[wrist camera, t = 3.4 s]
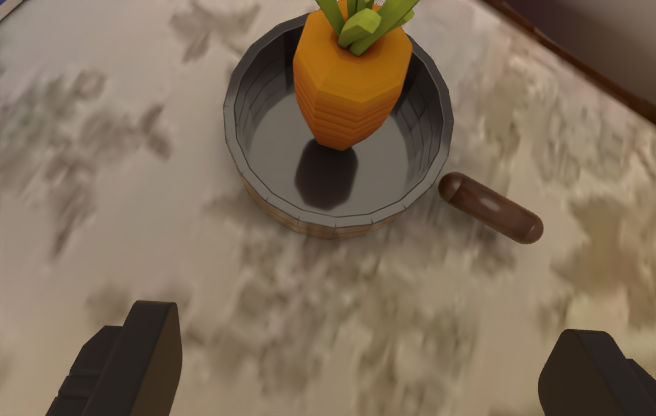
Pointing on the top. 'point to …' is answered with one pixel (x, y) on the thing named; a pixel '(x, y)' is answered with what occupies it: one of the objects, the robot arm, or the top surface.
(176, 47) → the top surface
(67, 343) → the top surface
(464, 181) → the pan handle
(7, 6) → the hard drive
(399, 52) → the carrot
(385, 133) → the pan
